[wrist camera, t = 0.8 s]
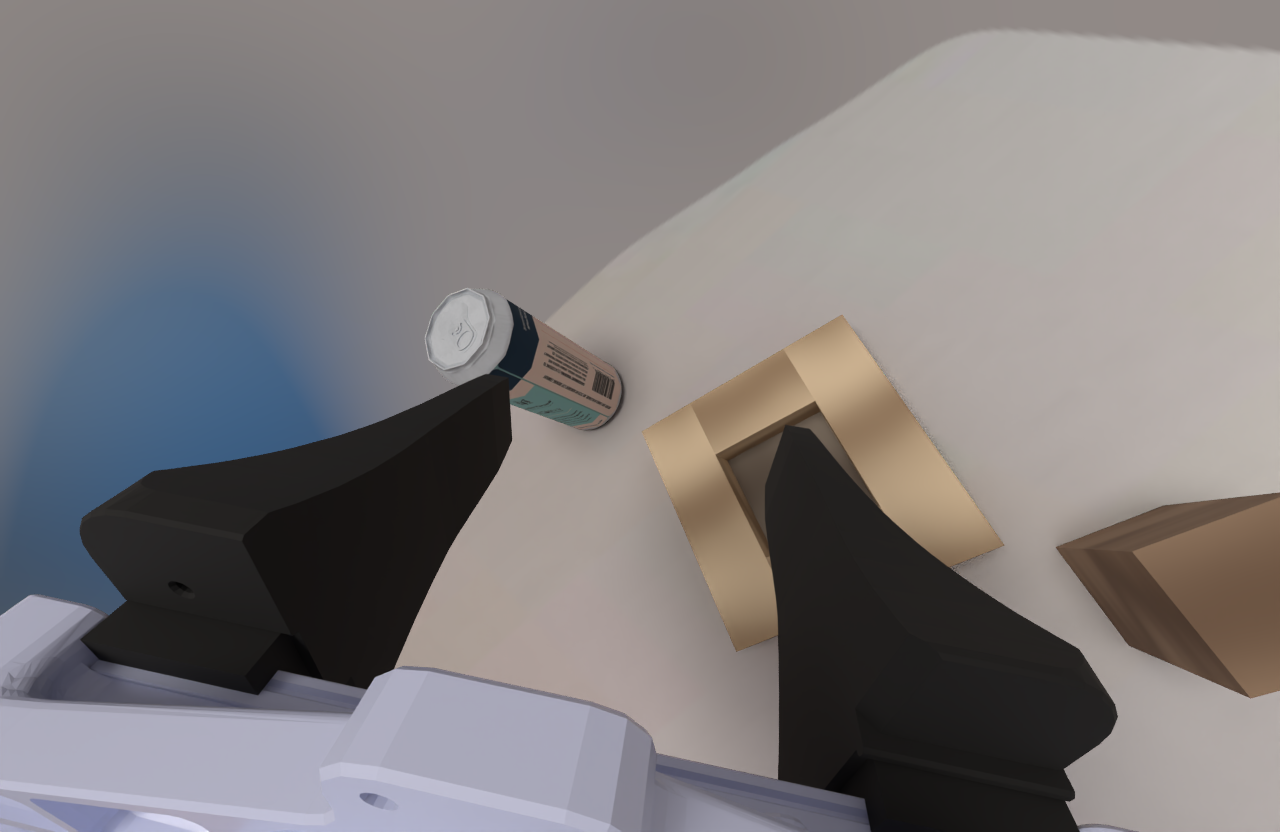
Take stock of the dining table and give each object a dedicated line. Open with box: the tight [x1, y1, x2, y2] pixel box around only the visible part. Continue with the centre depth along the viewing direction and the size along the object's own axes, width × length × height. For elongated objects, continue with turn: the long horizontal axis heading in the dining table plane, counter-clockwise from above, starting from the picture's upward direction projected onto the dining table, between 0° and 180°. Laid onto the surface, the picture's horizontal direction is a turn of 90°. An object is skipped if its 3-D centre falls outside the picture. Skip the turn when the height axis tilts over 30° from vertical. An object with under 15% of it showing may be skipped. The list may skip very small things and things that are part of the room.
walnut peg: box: [1056, 493, 1280, 698], centre depth 16 cm, size 4×4×7 cm
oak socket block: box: [642, 315, 1004, 652], centre depth 24 cm, size 12×12×2 cm
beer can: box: [425, 288, 622, 430], centre depth 27 cm, size 5×5×12 cm
